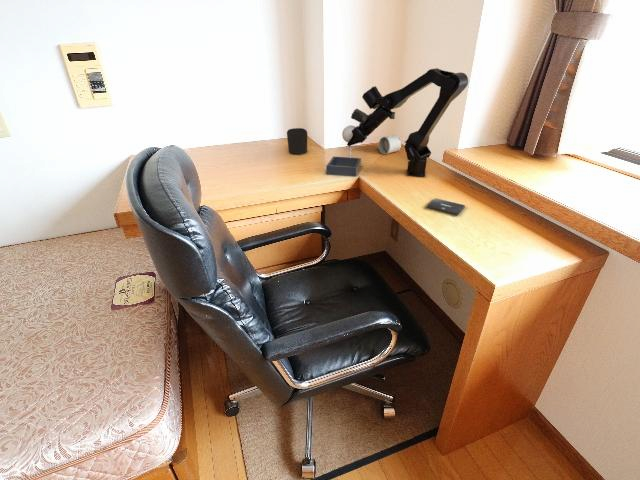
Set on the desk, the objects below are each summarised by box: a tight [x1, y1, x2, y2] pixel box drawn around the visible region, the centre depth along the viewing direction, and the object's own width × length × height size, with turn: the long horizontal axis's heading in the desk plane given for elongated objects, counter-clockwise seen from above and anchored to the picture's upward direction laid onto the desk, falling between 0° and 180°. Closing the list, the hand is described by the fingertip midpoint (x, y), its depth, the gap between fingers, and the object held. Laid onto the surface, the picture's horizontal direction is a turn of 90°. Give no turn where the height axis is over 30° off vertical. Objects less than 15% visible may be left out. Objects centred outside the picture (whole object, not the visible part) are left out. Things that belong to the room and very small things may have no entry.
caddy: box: [326, 156, 362, 177], centre depth 143 cm, size 12×12×4 cm
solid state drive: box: [427, 197, 466, 216], centre depth 113 cm, size 7×10×1 cm
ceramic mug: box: [377, 135, 402, 155], centre depth 162 cm, size 11×8×8 cm
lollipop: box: [341, 125, 356, 158], centre depth 151 cm, size 7×7×15 cm
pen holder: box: [286, 127, 308, 156], centre depth 163 cm, size 9×9×10 cm
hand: (349, 143), depth 151 cm, fingers closed on lollipop, 6 cm apart
